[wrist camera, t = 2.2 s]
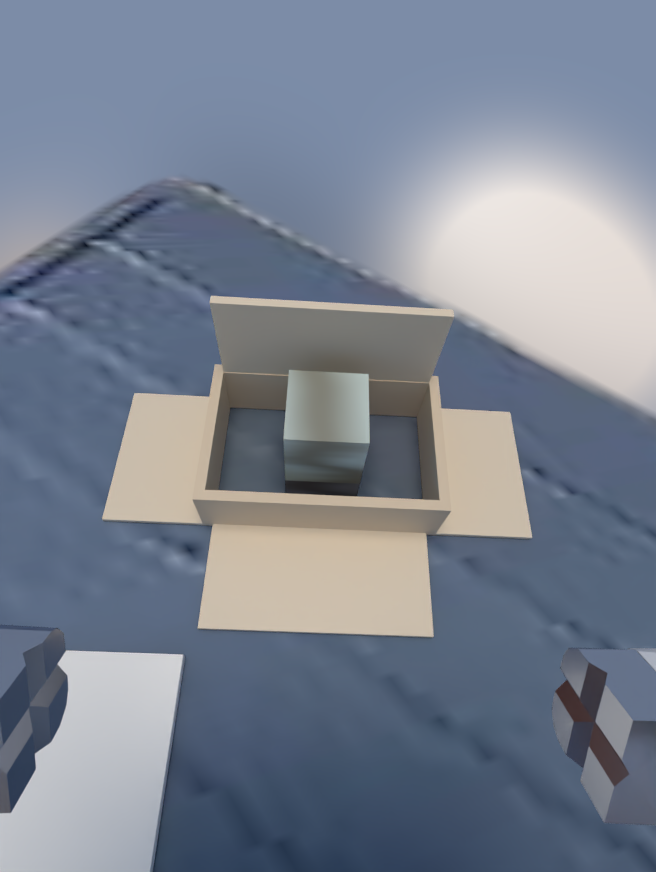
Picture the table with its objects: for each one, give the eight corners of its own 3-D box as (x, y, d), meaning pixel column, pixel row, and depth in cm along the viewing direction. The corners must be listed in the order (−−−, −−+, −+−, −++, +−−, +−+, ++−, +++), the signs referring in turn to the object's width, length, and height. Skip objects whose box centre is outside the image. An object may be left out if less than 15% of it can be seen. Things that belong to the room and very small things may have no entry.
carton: (508, 414, 37) (573, 316, 28) (548, 641, 29) (653, 602, 21) (135, 395, 36) (85, 287, 27) (77, 624, 29) (-19, 575, 20)
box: (356, 436, 36) (368, 374, 29) (356, 496, 33) (369, 443, 27) (290, 432, 35) (288, 369, 29) (285, 493, 33) (283, 439, 27)
